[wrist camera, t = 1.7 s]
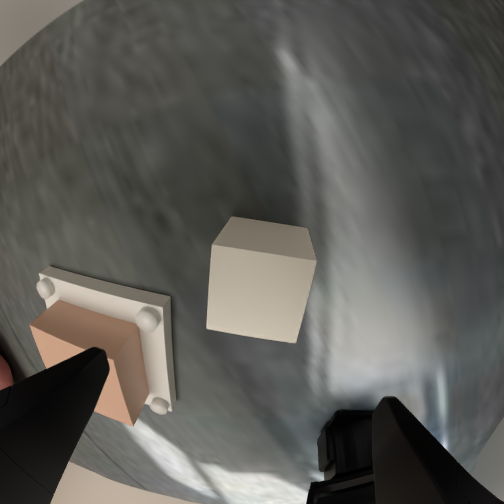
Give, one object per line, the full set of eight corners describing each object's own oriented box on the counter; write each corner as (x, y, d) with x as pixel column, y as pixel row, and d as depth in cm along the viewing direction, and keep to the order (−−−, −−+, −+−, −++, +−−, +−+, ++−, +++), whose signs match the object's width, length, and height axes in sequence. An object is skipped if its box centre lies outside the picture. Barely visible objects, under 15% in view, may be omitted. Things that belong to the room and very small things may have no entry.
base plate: (170, 296, 19) (137, 344, 14) (176, 400, 24) (158, 444, 18) (49, 266, 20) (8, 295, 15) (75, 365, 24) (50, 398, 19)
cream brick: (307, 227, 16) (316, 261, 12) (293, 294, 18) (295, 343, 13) (231, 216, 17) (211, 244, 12) (225, 283, 18) (206, 328, 14)
